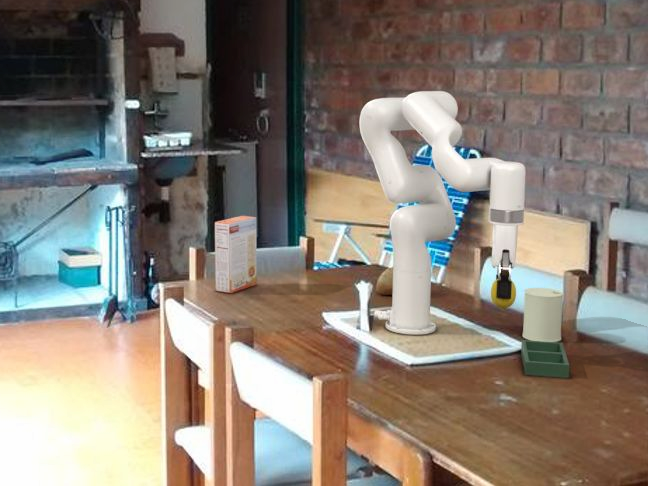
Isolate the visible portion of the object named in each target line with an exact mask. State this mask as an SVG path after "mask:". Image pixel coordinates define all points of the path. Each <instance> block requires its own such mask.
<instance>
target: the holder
mask: <svg viewBox="0 0 648 486" xmlns="http://www.w3.org/2000/svg"><path fill="white" fill-rule="evenodd" d="M520 346H521V347H520V350H521V351H520V353H521V360H522V365H523V371H524V376H533V377H544V378H545V377H547V378H560V379H569V378H570V363H569V360H568V356H567V353H566V350H565V346H564V343H563V342H559V341H558V342H543V341H530V340H527V339H521V345H520Z"/></svg>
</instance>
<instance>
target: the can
mask: <svg viewBox="0 0 648 486" xmlns="http://www.w3.org/2000/svg"><path fill="white" fill-rule="evenodd" d="M523 292H524V304H523V306H524V307H523V329H522V338H524V340H529V341H543V342H558V343H559V342H560V341H562V317H563V316H562V314H563V298H564V292H563V291H561V290H559V289H554V288H547V287H530V288H529V287H528V288H526V289H525V290H524V291H523Z"/></svg>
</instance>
